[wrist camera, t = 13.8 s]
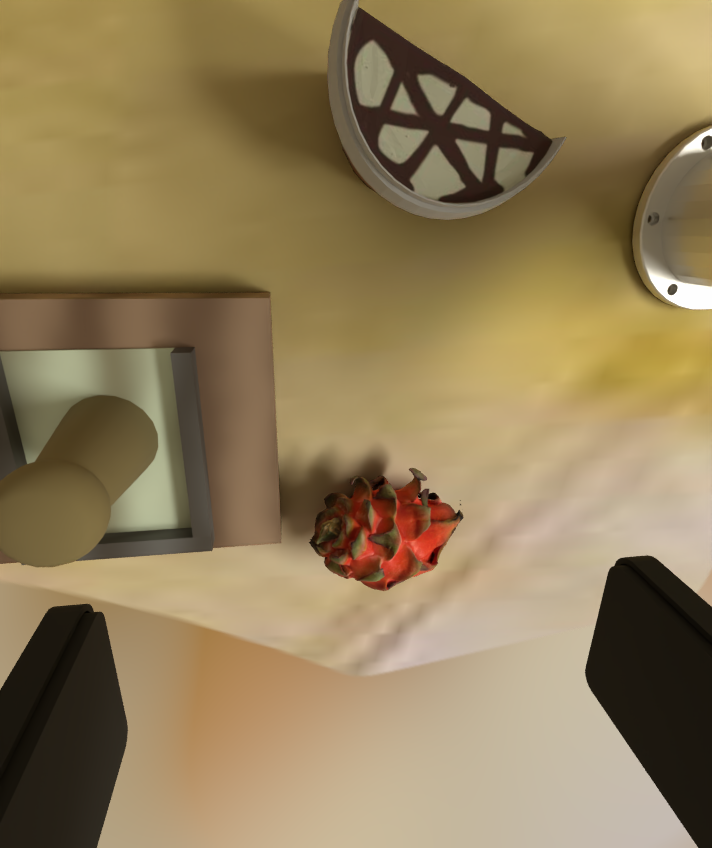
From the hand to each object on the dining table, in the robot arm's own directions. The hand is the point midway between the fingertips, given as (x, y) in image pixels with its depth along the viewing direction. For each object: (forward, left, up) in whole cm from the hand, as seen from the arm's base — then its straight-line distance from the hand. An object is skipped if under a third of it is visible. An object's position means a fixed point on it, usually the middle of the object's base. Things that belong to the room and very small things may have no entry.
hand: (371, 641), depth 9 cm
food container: (-6, -11, -28) cm, 31 cm away
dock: (+13, +6, -28) cm, 32 cm away
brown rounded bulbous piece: (+13, +6, -25) cm, 29 cm away
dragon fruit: (-6, +14, -29) cm, 32 cm away
